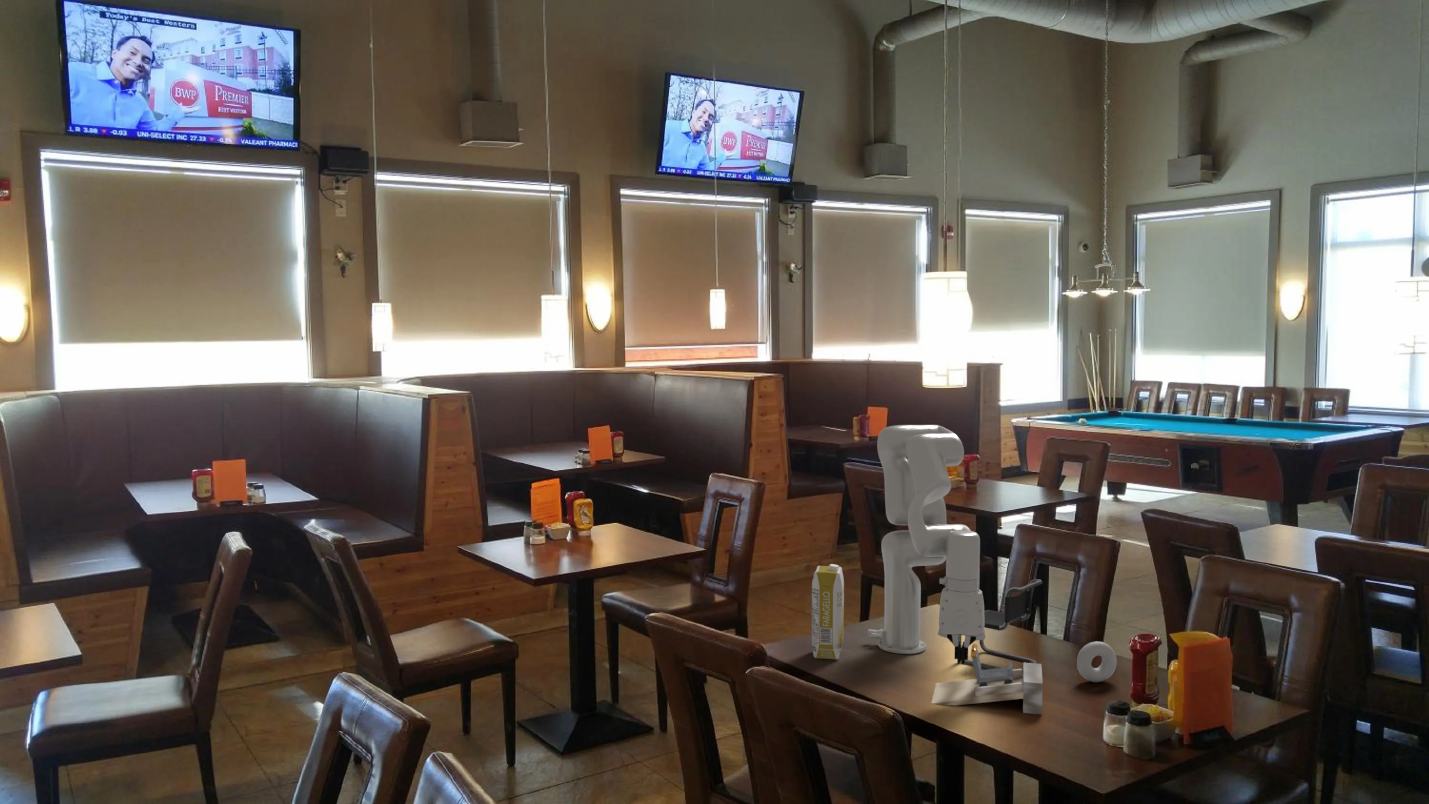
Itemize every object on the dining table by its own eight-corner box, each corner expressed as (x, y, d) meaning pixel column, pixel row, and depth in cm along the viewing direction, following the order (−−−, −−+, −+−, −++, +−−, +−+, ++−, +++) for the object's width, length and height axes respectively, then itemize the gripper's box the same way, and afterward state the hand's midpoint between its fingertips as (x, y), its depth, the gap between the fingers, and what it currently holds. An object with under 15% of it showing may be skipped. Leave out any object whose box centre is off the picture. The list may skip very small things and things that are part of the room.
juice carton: (841, 661, 258) (842, 569, 257) (810, 659, 260) (811, 567, 259) (844, 650, 268) (844, 561, 266) (814, 648, 269) (814, 560, 268)
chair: (1019, 677, 246) (1020, 588, 245) (955, 661, 258) (957, 577, 257) (1042, 664, 256) (1044, 579, 254) (980, 650, 268) (981, 568, 266)
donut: (1080, 685, 240) (1081, 644, 240) (1073, 680, 244) (1074, 640, 243) (1119, 683, 242) (1120, 642, 241) (1111, 678, 245) (1112, 638, 245)
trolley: (970, 689, 229) (970, 652, 229) (971, 679, 236) (972, 643, 235) (1012, 693, 227) (1013, 655, 226) (1013, 683, 233) (1013, 647, 233)
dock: (931, 707, 229) (931, 673, 228) (936, 687, 242) (936, 654, 242) (1041, 718, 222) (1042, 683, 221) (1040, 697, 235) (1041, 663, 235)
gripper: (928, 585, 231) (926, 664, 232) (995, 590, 226) (994, 670, 227) (930, 578, 238) (929, 654, 239) (996, 582, 233) (995, 660, 234)
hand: (961, 662), depth 233 cm, fingers closed
